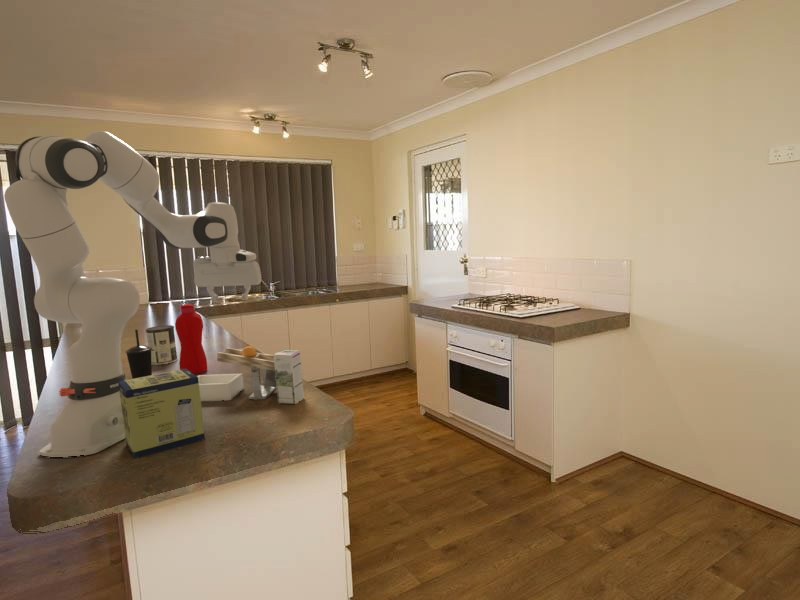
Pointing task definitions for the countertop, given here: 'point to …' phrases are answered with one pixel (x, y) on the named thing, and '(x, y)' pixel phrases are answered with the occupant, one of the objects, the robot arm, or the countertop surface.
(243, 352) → the ball
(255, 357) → the lever
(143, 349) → the drinking cup
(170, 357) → the coffee can
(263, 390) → the pivot stand
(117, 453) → the countertop surface
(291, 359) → the syrup box
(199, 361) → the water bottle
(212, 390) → the white open tray
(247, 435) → the countertop surface
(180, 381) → the protein box
